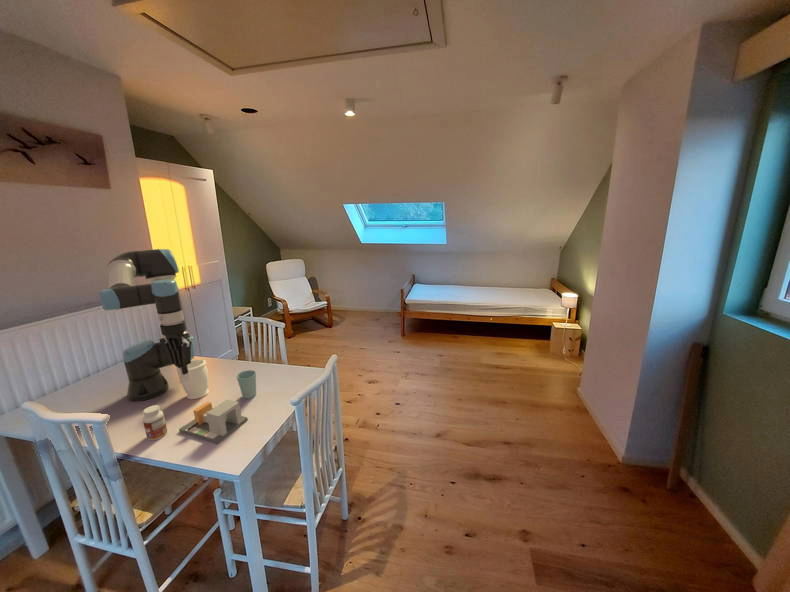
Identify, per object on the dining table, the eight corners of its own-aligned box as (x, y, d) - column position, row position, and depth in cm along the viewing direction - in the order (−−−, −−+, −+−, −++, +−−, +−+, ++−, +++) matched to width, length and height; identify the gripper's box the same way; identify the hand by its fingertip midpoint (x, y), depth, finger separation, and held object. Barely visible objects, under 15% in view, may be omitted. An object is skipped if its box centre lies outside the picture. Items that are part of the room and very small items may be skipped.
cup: (259, 397, 141) (255, 376, 139) (240, 402, 138) (236, 380, 136) (258, 389, 148) (255, 368, 145) (240, 393, 145) (236, 372, 142)
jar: (183, 403, 138) (176, 372, 134) (185, 392, 147) (179, 362, 143) (211, 396, 143) (205, 366, 139) (211, 386, 152) (206, 357, 148)
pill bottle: (145, 436, 118) (138, 409, 115) (164, 427, 123) (158, 401, 120) (150, 443, 114) (143, 416, 112) (170, 434, 119) (163, 408, 116)
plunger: (186, 430, 118) (183, 416, 117) (210, 415, 127) (207, 401, 126) (205, 436, 115) (202, 422, 113) (229, 420, 124) (226, 406, 122)
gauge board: (179, 431, 120) (174, 409, 118) (212, 410, 133) (208, 390, 130) (217, 443, 113) (212, 420, 111) (247, 420, 126) (244, 398, 124)
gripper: (149, 324, 116) (163, 383, 122) (174, 327, 111) (187, 388, 117) (170, 317, 122) (182, 374, 128) (194, 320, 118) (206, 379, 124)
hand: (184, 381), depth 123 cm, fingers closed
